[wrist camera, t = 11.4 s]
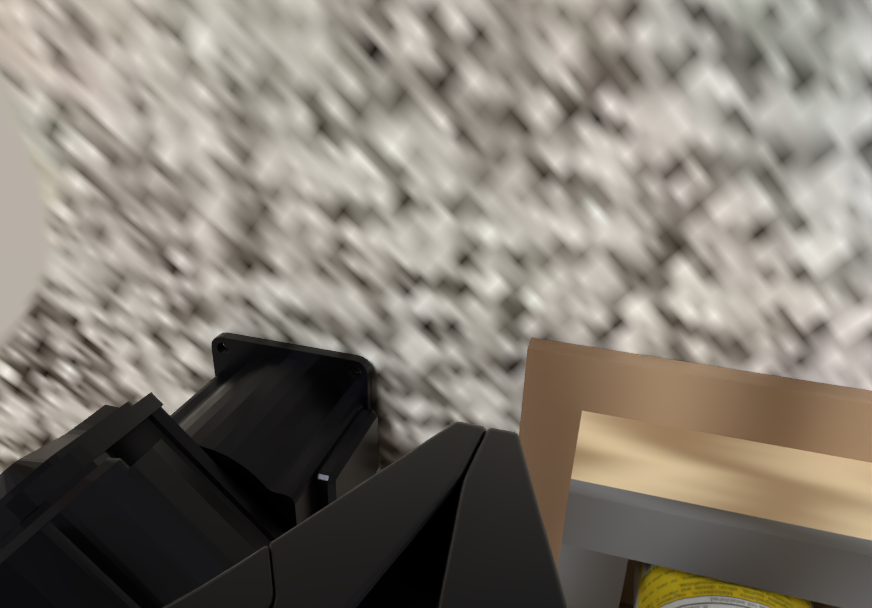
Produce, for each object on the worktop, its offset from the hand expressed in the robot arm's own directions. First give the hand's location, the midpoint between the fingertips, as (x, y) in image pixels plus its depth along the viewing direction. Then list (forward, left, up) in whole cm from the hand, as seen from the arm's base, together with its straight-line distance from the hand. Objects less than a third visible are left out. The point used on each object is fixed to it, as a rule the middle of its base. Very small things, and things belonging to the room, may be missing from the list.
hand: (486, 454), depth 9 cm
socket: (+6, -12, -13) cm, 19 cm away
